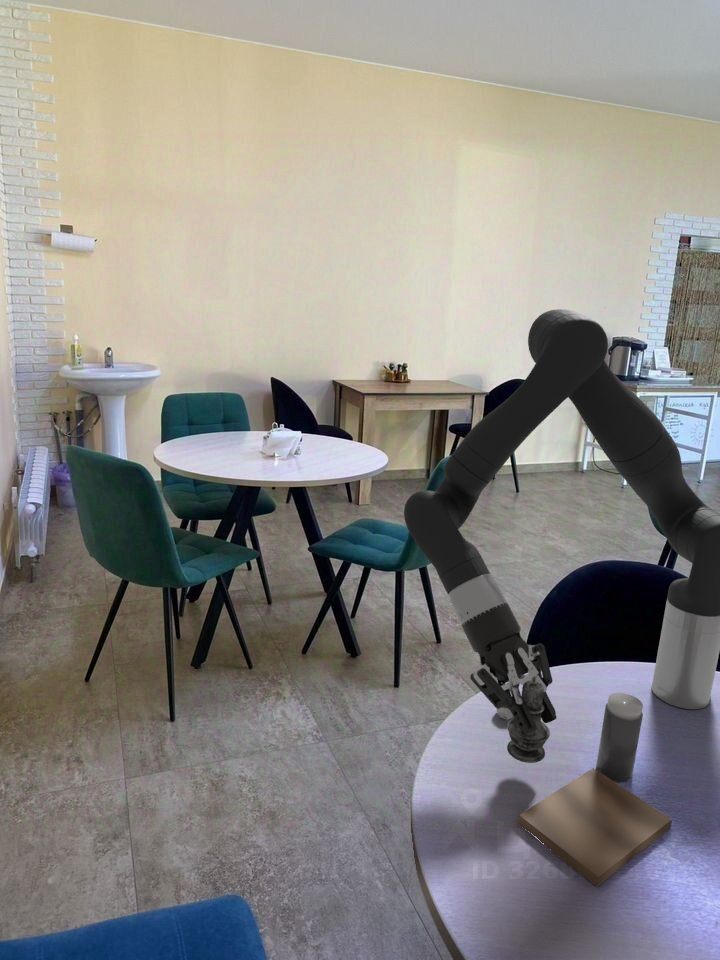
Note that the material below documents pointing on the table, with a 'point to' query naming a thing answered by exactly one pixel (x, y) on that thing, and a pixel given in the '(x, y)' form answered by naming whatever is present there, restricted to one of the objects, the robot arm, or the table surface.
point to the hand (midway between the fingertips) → (541, 725)
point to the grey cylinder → (619, 737)
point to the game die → (504, 713)
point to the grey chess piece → (532, 743)
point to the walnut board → (595, 825)
